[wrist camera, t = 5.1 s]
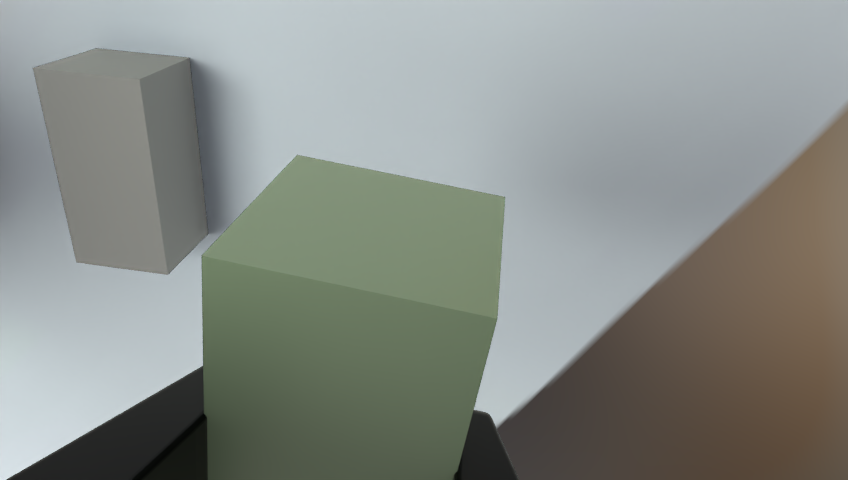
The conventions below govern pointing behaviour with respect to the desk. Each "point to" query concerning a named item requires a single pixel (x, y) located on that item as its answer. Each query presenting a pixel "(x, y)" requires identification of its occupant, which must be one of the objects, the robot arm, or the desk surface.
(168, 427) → the robot arm
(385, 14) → the desk surface
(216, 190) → the desk surface
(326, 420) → the sage brick
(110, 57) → the slate brick
